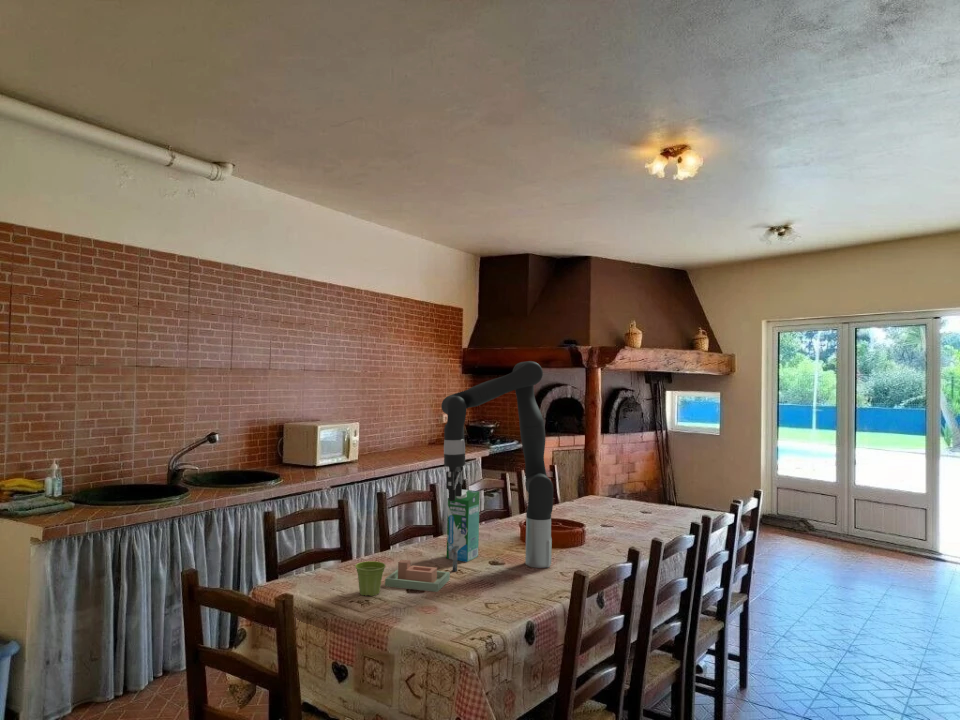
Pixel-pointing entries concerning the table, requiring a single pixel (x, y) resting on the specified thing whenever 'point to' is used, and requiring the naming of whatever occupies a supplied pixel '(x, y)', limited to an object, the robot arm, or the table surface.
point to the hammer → (455, 557)
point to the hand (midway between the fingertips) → (455, 498)
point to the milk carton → (463, 525)
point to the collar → (416, 572)
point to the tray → (418, 582)
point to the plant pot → (370, 577)
